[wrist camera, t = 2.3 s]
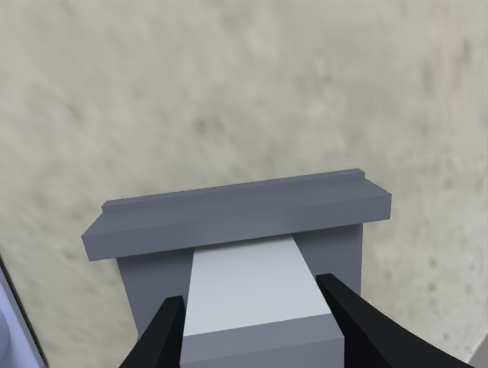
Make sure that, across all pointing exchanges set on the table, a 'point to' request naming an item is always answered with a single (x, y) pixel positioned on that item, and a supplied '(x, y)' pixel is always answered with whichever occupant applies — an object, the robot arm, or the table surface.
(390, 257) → the table surface
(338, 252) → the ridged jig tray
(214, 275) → the grey square block
